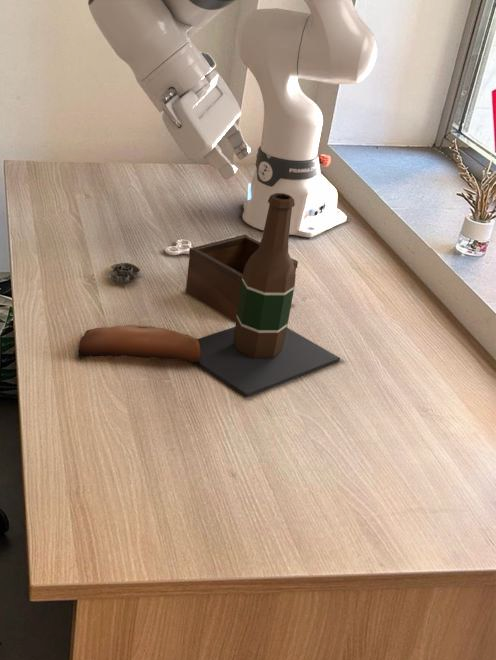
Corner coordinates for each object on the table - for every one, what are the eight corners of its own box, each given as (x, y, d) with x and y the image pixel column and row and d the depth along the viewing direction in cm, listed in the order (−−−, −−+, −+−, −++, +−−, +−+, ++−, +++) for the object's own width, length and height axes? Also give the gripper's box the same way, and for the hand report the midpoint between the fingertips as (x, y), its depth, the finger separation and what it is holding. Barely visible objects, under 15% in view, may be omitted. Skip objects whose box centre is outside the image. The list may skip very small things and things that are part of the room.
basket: (238, 276, 169) (245, 234, 164) (290, 305, 161) (298, 261, 156) (184, 292, 161) (189, 248, 157) (236, 323, 154) (242, 277, 149)
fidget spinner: (180, 241, 179) (180, 237, 178) (210, 250, 177) (211, 246, 176) (162, 253, 174) (162, 248, 173) (193, 262, 171) (194, 258, 171)
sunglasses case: (200, 336, 146) (203, 313, 140) (198, 377, 143) (202, 355, 137) (82, 330, 145) (80, 307, 139) (78, 370, 142) (76, 349, 136)
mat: (266, 319, 156) (267, 316, 155) (339, 361, 146) (340, 357, 146) (173, 349, 144) (174, 346, 144) (246, 397, 135) (247, 394, 134)
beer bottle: (279, 363, 143) (307, 210, 129) (228, 354, 143) (251, 200, 130) (285, 340, 149) (312, 191, 135) (236, 331, 150) (258, 183, 136)
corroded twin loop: (105, 284, 160) (105, 279, 160) (113, 265, 167) (113, 260, 166) (134, 288, 160) (134, 283, 160) (141, 269, 167) (142, 264, 166)
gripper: (175, 83, 118) (242, 174, 122) (213, 51, 134) (270, 133, 138) (138, 114, 121) (204, 202, 125) (179, 79, 138) (236, 158, 142)
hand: (239, 165), depth 132 cm, fingers open, 8 cm apart
